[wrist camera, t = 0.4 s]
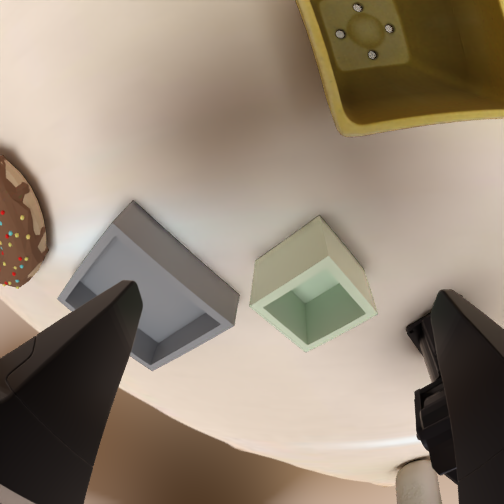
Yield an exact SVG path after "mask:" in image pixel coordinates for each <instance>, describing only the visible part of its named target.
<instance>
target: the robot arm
mask: <svg viewBox="0 0 504 504" xmlns="http://www.w3.org/2000/svg"><path fill="white" fill-rule="evenodd" d="M142 310H143V301H142V298H141V295H140V291H139V288H138V285H137V283H136V282H135V281H133V280H122V281H120V282H119V283H117V284H115V285H114V286H112V287H111V288H109V289H107V290H106V291H104V292H103V293H101V294H99V295H98V296H96V297H95V298H93V299H91V300H90V301H88V302H87V303H85V304H83V305H82V306H80V307H79V308H77V309H76V310H74V311H73V312H71V313H69V314H68V315H66V316H65V317H63V318H62V319H60V320H59V321H57V322H56V323H54V324H53V325H51V326H50V327H48V328H46V329H45V330H43V331H42V332H40V333H39V334H37V336H35V337H33V338H32V339H30V340H29V341H27V342H25V343H24V344H22V345H21V346H19V347H18V348H16V349H15V350H13V351H11V352H10V353H8V354H6V355H5V356H3V357H2V358H0V504H84V500H85V495H86V492H87V488H88V484H89V481H90V477H91V473H92V469H93V467H92V466H93V465H94V462H95V458H96V455H97V451H98V448H99V445H100V441H101V438H102V435H103V432H104V429H105V425H106V422H107V419H108V416H109V413H110V410H111V407H112V404H113V401H114V398H115V395H116V392H117V389H118V387H119V384H120V381H121V378H122V375H123V373H124V370H125V367H126V364H127V362H128V359H129V356H130V353H131V350H132V347H133V343H134V339H135V336H136V332H137V328H138V324H139V321H140V317H141V313H142ZM406 332H407V334H408V336H409V337H410V339H411V340H412V341H413V343H414V344H415V345H416V347H417V348H418V350H419V351H420V352H421V354H422V355H423V357H424V360H425V363H426V366H427V369H428V372H429V375H430V378H431V381H432V383H430V384H429V385H427V386H425V387H424V388H422V389H418V390H416V391H415V392H414V393H415V400H414V401H415V415H416V431H417V439H418V440H420V441H421V442H422V444H423V446H424V447H425V449H426V450H428V451H429V454H430V459H431V465H432V468H433V469H434V470H435V471H436V472H437V473H438V474H439V475H443V474H444V475H446V476H447V477H448V478H449V479H451V480H452V481H453V482H454V483H456V484H457V485H458V495H459V504H504V329H503V328H502V327H500V326H499V325H498V324H497V323H495V322H494V321H493V320H492V319H490V318H489V317H488V316H486V315H485V314H484V313H483V312H481V311H480V310H479V309H477V308H476V307H475V306H474V305H472V304H471V303H470V302H468V301H467V300H466V299H464V298H463V296H462V295H459V294H458V293H456V292H455V291H453V290H451V289H444V290H440V291H439V292H438V295H437V297H436V300H435V302H434V305H433V307H432V310H431V313H430V314H428V315H426V316H425V317H423V318H422V319H420V320H418V321H417V322H415V323H413V324H411V325H410V326H408V327H407V328H406Z"/></svg>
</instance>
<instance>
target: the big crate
mask: <svg viewBox="0 0 504 504" xmlns="http://www.w3.org/2000/svg"><path fill="white" fill-rule="evenodd" d="M122 280H133V281H135V282H136V283H137V285H138V288H139V291H140V295H141V298H142V301H143V310H142V313H141V317H140V321H139V324H138V328H137V332H136V336H135V339H134V343H133V347H132V350H131V353H130V356H131V357H132V358H134V359H135V360H136V361H138V362H139V363H141V364H142V365H144V366H145V367H147V368H148V369H150V370H151V371H154V370H155V369H157V368H159V367H161V366H163V365H165V364H167V363H169V362H170V361H172V360H174V359H176V358H178V357H180V356H181V355H183V354H185V353H187V352H189V351H191V350H192V349H194V348H196V347H198V346H200V345H201V344H203V343H205V342H207V341H208V340H210V339H212V338H214V337H216V336H217V335H219V334H221V333H223V332H224V331H226V330H228V329H230V328H231V327H233V326H234V325H235V319H236V313H237V307H238V301H239V296H240V295H239V294H238V293H237V292H235V291H234V290H233V289H232V288H231V287H230V286H228V285H227V284H226V283H225V282H224V281H223V280H222V279H220V278H219V277H218V276H217V275H216V274H215V273H213V272H212V271H211V270H210V269H209V268H208V267H207V266H205V265H204V264H203V263H202V262H201V261H200V260H199V259H198V258H196V257H195V256H194V255H193V254H192V253H191V252H190V251H189V250H187V249H186V248H185V247H184V246H183V245H182V244H181V243H180V242H178V241H177V240H176V239H175V238H174V237H173V236H172V235H171V234H170V233H168V232H167V231H166V230H165V229H164V228H163V227H162V226H161V225H160V224H159V223H158V222H156V221H155V220H154V219H153V218H152V217H151V216H150V215H149V214H148V213H147V212H146V211H144V210H143V209H142V208H141V207H140V206H139V205H138V204H137V203H136V202H135V201H134V200H133V201H132V202H131V203H130V204H129V205H128V206H127V207H126V208H125V209H124V210H123V211H122V213H121V214H120V215H119V216H118V217H117V218H116V219H115V220H114V221H113V222H112V223H111V225H110V226H109V227H108V229H107V230H106V231H105V232H104V234H103V235H102V236H101V238H100V239H99V240H98V242H97V243H96V244H95V245H94V247H93V248H92V250H91V251H90V252H89V254H88V255H87V256H86V258H85V259H84V260H83V262H82V263H81V265H80V266H79V267H78V269H77V270H76V272H75V273H74V275H73V276H72V277H71V279H70V280H69V282H68V283H67V285H66V286H65V288H64V289H63V291H62V292H61V294H60V295H59V297H58V298H57V299H58V300H59V301H60V302H61V303H62V304H63V305H65V306H66V307H67V308H68V309H69V310H70V311H72V312H73V311H74V310H76V309H77V308H79V307H80V306H82V305H83V304H85V303H87V302H88V301H90V300H91V299H93V298H95V297H96V296H98V295H99V294H101V293H103V292H104V291H106V290H107V289H109V288H111V287H112V286H114V285H115V284H117V283H119V282H120V281H122Z"/></svg>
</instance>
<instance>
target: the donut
mask: <svg viewBox="0 0 504 504" xmlns="http://www.w3.org/2000/svg"><path fill="white" fill-rule="evenodd" d="M45 229H46V227H45V225H44V219H43V215H42V212H41V209H40V206H39V203H38V200H37V198H36V196H35V194H34V192H33V190H32V188H31V186H30V185H29V183H28V182H27V181H26V179H25V178H24V177H23V175H22V174H21V173H20V172H19V171H18V170H17V169H16V168H15V167H14V166H13V165H11V164H10V163H9V162H8V161H7V160H6V159H5V157H4V155H2V156H0V284H3V286H6V285H8V286H12V287H16V288H17V289H19V287H21V286H22V285H24V284H25V283H27V282H28V281H29V280H30V279H31V278H32V277H33V276H34V275H35V273H36V272H37V271H38V270H39V268H40V265H41V263H42V261H43V260H44V258H45V255H46V253H47V252H48V251H49V249H48V247H47V245H46V231H45Z"/></svg>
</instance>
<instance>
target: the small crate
mask: <svg viewBox="0 0 504 504" xmlns="http://www.w3.org/2000/svg"><path fill="white" fill-rule="evenodd" d="M249 307H251V308H252V309H253V310H254V311H255V312H257V313H258V314H259V315H260V316H261V317H263V318H264V319H265V320H266V321H267V322H269V323H270V324H271V325H272V326H274V327H275V328H276V329H277V330H278V331H280V332H281V333H282V334H283V335H285V336H286V337H287V338H288V339H289V340H291V341H292V342H293V343H294V344H296V345H297V346H298V347H299V348H301V349H302V350H303V351H304V352H308V351H310V350H312V349H314V348H316V347H318V346H320V345H322V344H324V343H326V342H328V341H330V340H332V339H333V338H335V337H337V336H339V335H341V334H343V333H345V332H347V331H349V330H350V329H352V328H354V327H356V326H358V325H360V324H361V323H363V322H365V321H367V320H368V319H370V318H372V317H374V316H375V315H377V314H378V312H377V309H376V306H375V303H374V299H373V296H372V293H371V290H370V287H369V284H368V281H367V278H366V275H365V272H364V269H363V268H362V266H361V265H360V264H359V263H358V261H357V260H356V259H355V258H354V256H353V255H352V254H351V253H350V251H349V250H348V249H347V248H346V246H345V245H344V244H343V243H342V242H341V240H340V239H339V238H338V237H337V236H336V234H335V233H334V232H333V231H332V229H331V228H330V227H329V226H328V225H327V224H326V222H325V221H324V220H323V219H322V218H321V216H320V215H319V216H318V217H316V218H315V219H314V220H312V221H311V222H309V223H308V224H307V225H305V226H304V227H302V228H301V229H300V230H298V231H297V232H295V233H294V234H293V235H291V236H290V237H288V238H287V239H286V240H284V241H283V242H281V243H280V244H279V245H277V246H276V247H274V248H273V249H272V250H270V251H269V252H267V253H266V254H264V255H263V256H262V257H260V258H259V259H257V260H256V261H255V267H254V275H253V282H252V290H251V298H250V305H249Z"/></svg>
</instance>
